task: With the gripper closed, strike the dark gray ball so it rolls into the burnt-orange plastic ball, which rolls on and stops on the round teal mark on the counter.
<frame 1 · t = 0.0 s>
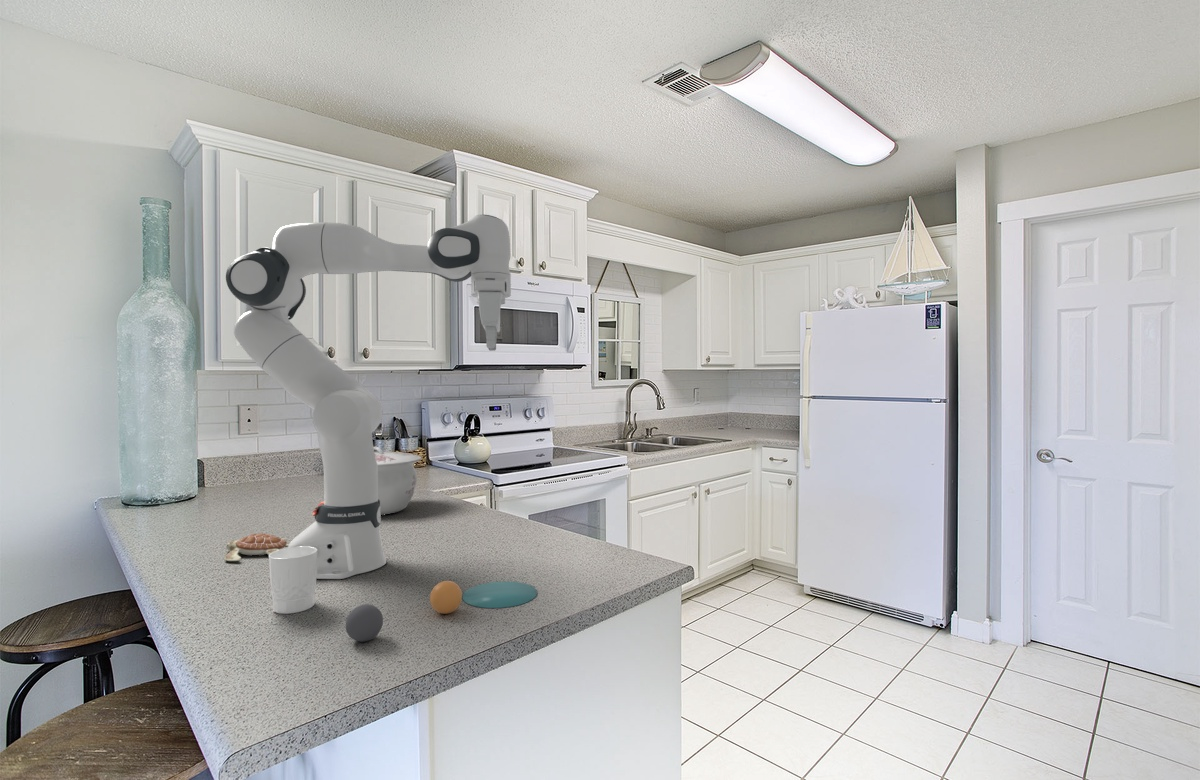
hand: (491, 349, 137), 48 cm above the counter, tool pointing down, fingers open, 8 cm apart
white cup: (294, 608, 109), on the counter
object ball: (446, 597, 106), on the counter
dark gray ball: (364, 622, 95), on the counter
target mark: (500, 594, 115), on the counter
chamber pot: (377, 512, 190), on the counter
decorative turtle: (259, 555, 145), on the counter
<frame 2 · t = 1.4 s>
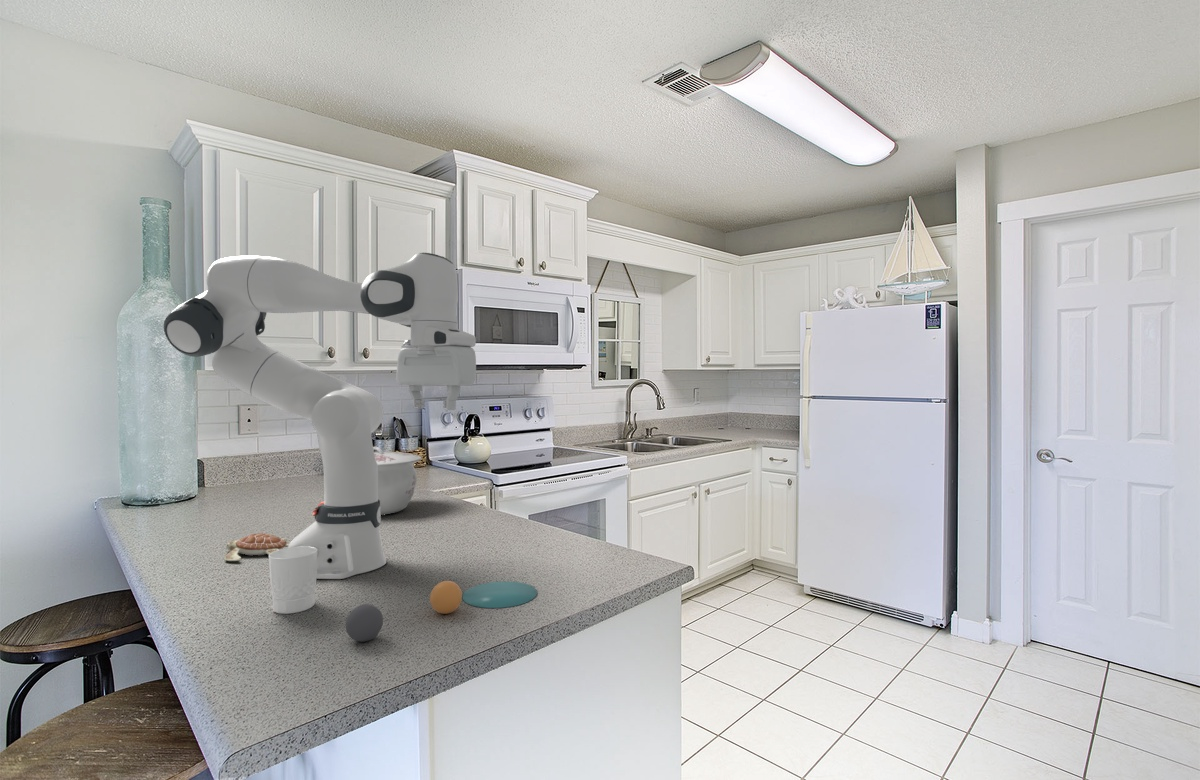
hand: (433, 409, 117), 35 cm above the counter, tool pointing down, fingers open, 8 cm apart
nothing on the counter moved.
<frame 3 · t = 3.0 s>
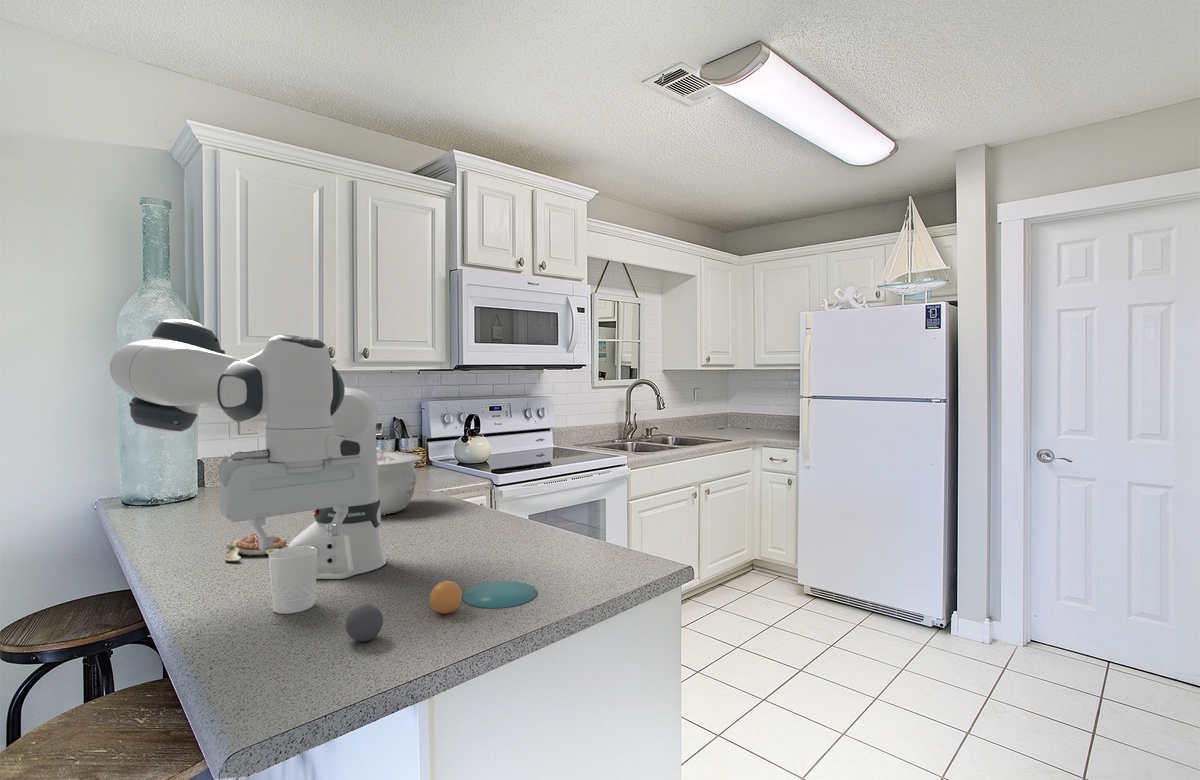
hand: (301, 541, 88), 17 cm above the counter, tool pointing down, fingers open, 8 cm apart
nothing on the counter moved.
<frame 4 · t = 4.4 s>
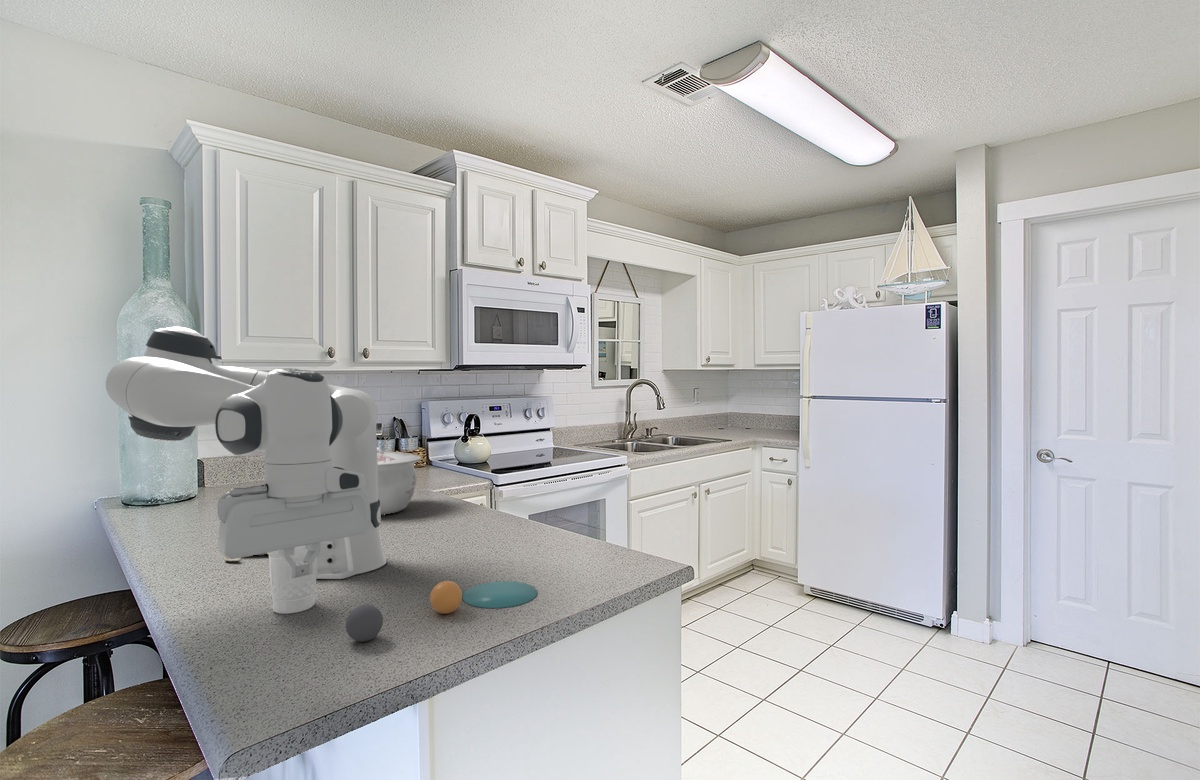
hand: (300, 575, 88), 12 cm above the counter, tool pointing down, fingers closed
nothing on the counter moved.
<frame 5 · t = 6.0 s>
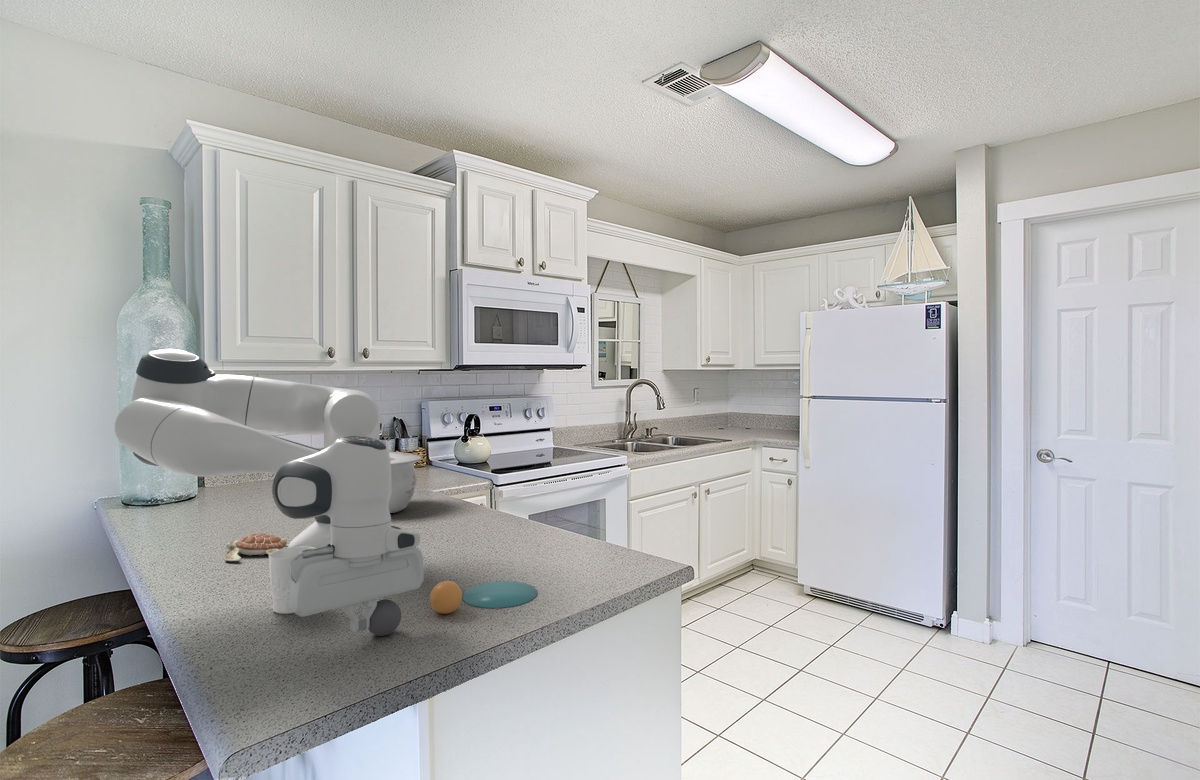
hand: (359, 629, 94), 2 cm above the counter, tool pointing down, fingers closed
dark gray ball: (383, 617, 97), on the counter, touching gripper
everything else where it was.
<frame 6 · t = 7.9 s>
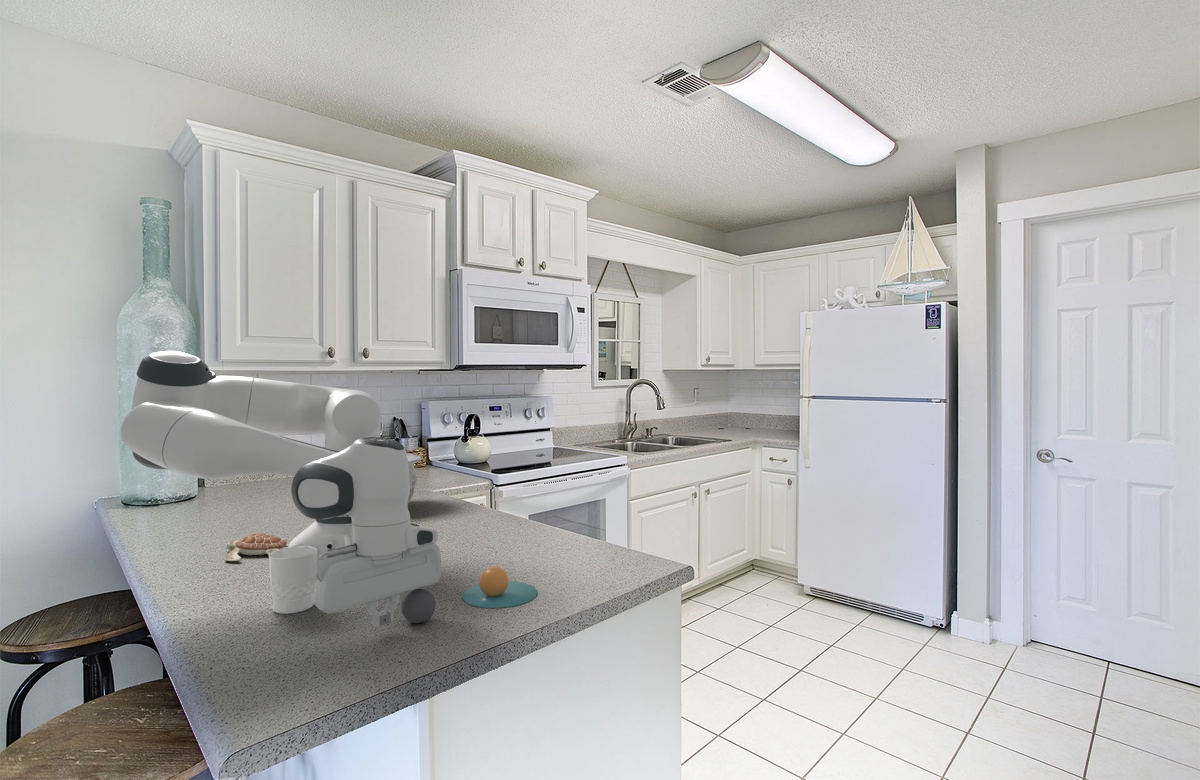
hand: (382, 624, 97), 2 cm above the counter, tool pointing down, fingers closed
object ball: (493, 581, 114), on the counter
dark gray ball: (418, 605, 102), on the counter
everything else where it was.
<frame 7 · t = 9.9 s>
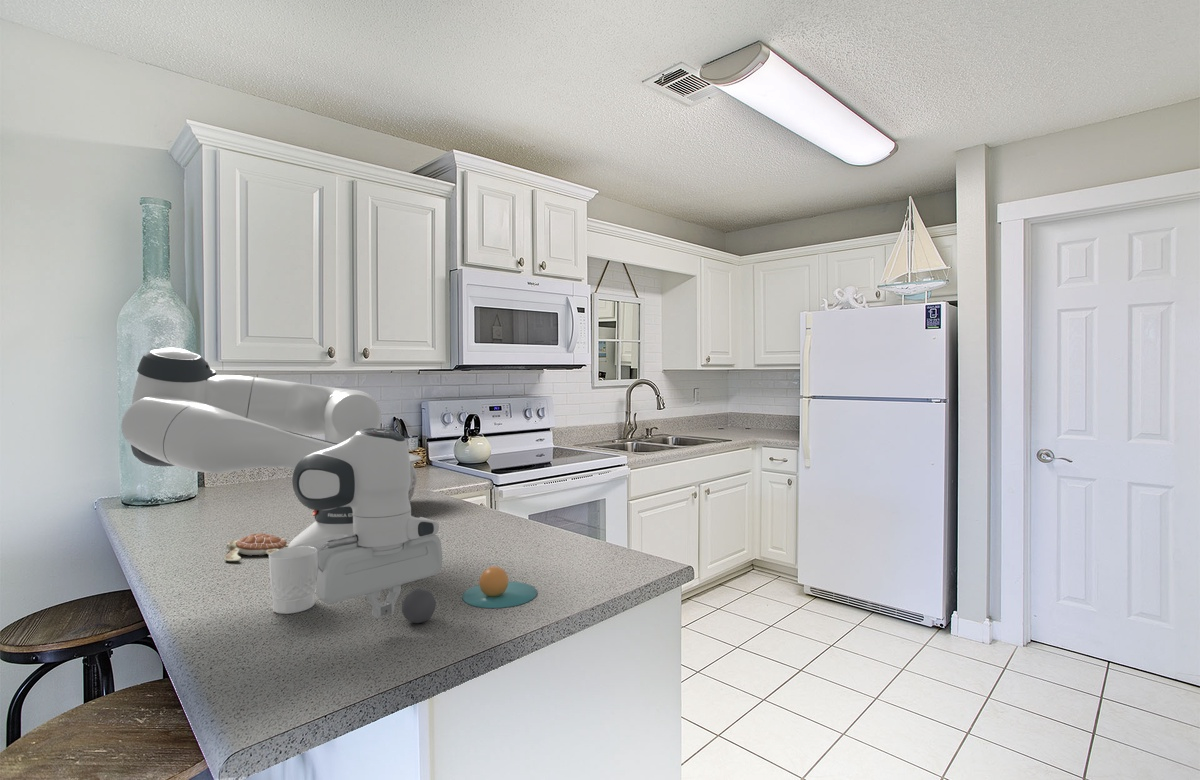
hand: (383, 615, 97), 3 cm above the counter, tool pointing down, fingers closed
nothing on the counter moved.
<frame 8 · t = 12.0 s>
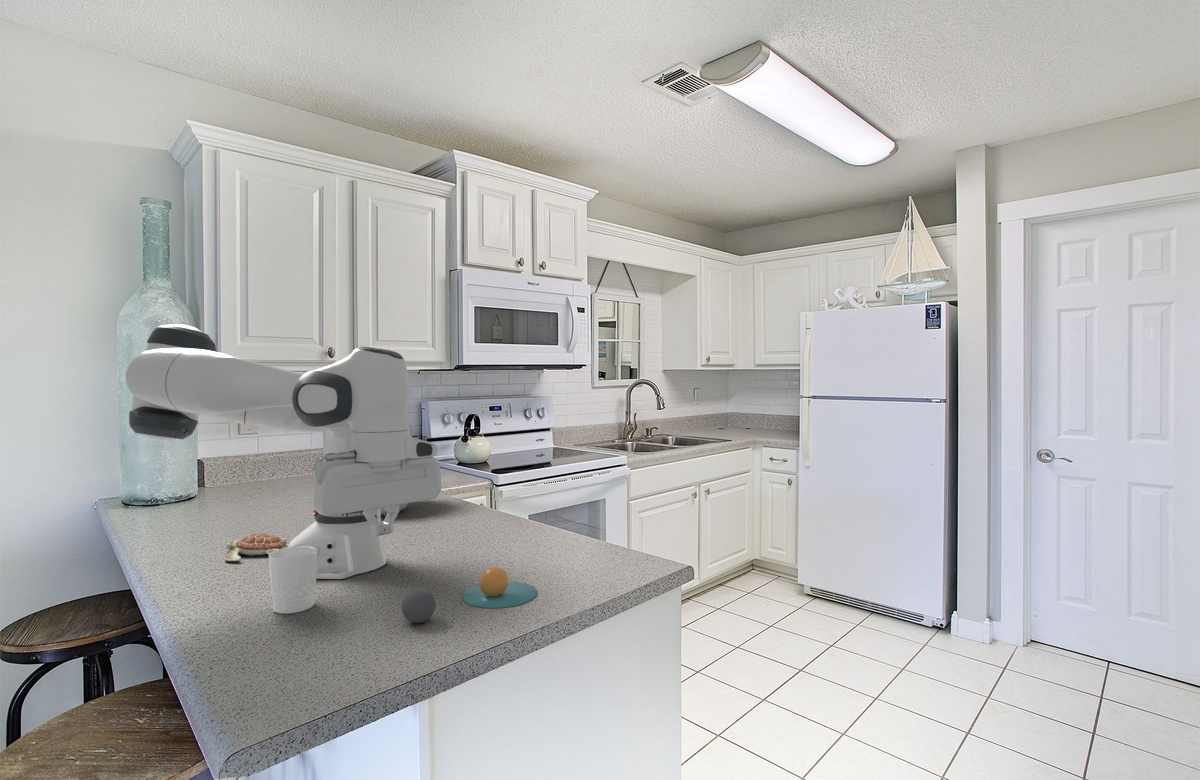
hand: (381, 534, 97), 16 cm above the counter, tool pointing down, fingers closed
nothing on the counter moved.
at the end: object ball 1.3 cm from the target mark (horizontally); object ball never touched the robot; dark gray ball first touched object ball at 6.2 s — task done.
